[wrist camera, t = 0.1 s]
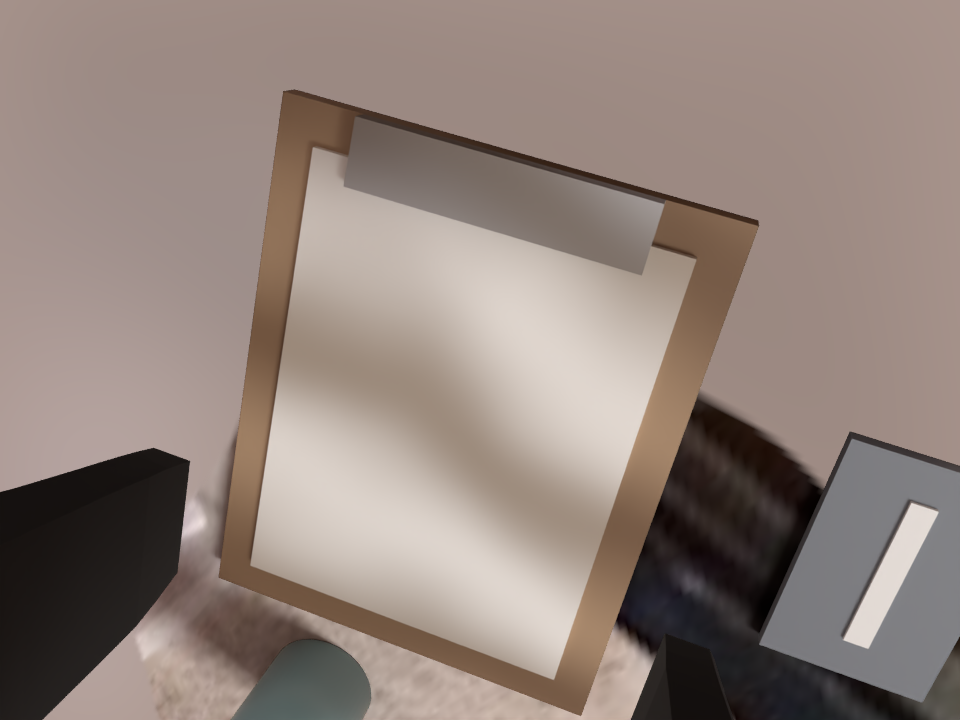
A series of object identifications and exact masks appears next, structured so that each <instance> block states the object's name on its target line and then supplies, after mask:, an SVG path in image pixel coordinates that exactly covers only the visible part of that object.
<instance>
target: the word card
mask: <svg viewBox="0 0 960 720" xmlns="http://www.w3.org/2000/svg"><path fill="white" fill-rule="evenodd" d="M959 636H960V466H958V465H955V464H952V463H949V462H946V461H942V460H939V459H936V458H933V457H929V456H927V455H923V454H920V453H917V452H914V451H911V450H908V449H904V448H901V447H898V446H895V445H891V444H888V443H885V442H882V441H879V440H876V439H873V438H869V437H866V436H863V435H860V434H856V433H853V432H849V435H848V437H847V439H846V441H845V444H844V446H843V448H842V450H841V453H840V455H839V457H838V459H837V461H836V464H835V466H834V468H833V470H832V472H831V475H830V477H829V479H828V481H827V484H826V486H825V488H824V490H823V493H822V495H821V497H820V499H819V501H818V504H817V506H816V508H815V510H814V513H813V515H812V517H811V519H810V522H809V524H808V526H807V528H806V530H805V533H804V535H803V537H802V539H801V542H800V544H799V546H798V548H797V550H796V553H795V555H794V557H793V559H792V562H791V564H790V566H789V568H788V571H787V573H786V575H785V577H784V579H783V582H782V584H781V586H780V588H779V591H778V593H777V595H776V597H775V600H774V602H773V604H772V606H771V608H770V611H769V613H768V615H767V617H766V620H765V622H764V624H763V626H762V629H761V631H760V633H759V644H760V645H762V646H765V647H768V648H771V649H774V650H776V651H779V652H782V653H785V654H787V655H790V656H793V657H796V658H799V659H801V660H804V661H807V662H810V663H813V664H815V665H818V666H821V667H824V668H827V669H829V670H832V671H835V672H838V673H841V674H843V675H846V676H849V677H852V678H855V679H857V680H860V681H863V682H866V683H869V684H871V685H874V686H877V687H880V688H883V689H885V690H888V691H891V692H894V693H897V694H899V695H902V696H905V697H908V698H911V699H913V700H916V701H919V702H923V700H924V698H925V697H926V695H927V693H928V691H929V690H930V688H931V686H932V684H933V682H934V681H935V679H936V677H937V675H938V674H939V672H940V670H941V668H942V666H943V665H944V663H945V661H946V659H947V658H948V656H949V654H950V652H951V651H952V649H953V647H954V645H955V643H956V642H957V640H958V638H959Z"/></svg>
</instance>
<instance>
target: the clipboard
mask: <svg viewBox="0 0 960 720" xmlns="http://www.w3.org/2000/svg"><path fill="white" fill-rule="evenodd" d="M758 227H759V223H758V220H754V219H751V218H747V217H743V216H740V215H736V214H733V213H730V212H726V211H723V210H719V209H716V208H712V207H708V206H705V205H701V204H698V203H694V202H691V201H687V200H683V199H680V198H677V197H673V196H670V195H666V194H662V193H659V192H655V191H652V190H648V189H644V188H641V187H638V186H634V185H631V184H627V183H624V182H620V181H617V180H613V179H609V178H606V177H602V176H599V175H595V174H592V173H588V172H585V171H581V170H578V169H574V168H570V167H567V166H563V165H560V164H556V163H553V162H549V161H546V160H542V159H538V158H535V157H532V156H528V155H525V154H521V153H517V152H514V151H510V150H507V149H503V148H500V147H496V146H492V145H489V144H486V143H482V142H479V141H475V140H471V139H468V138H464V137H461V136H457V135H454V134H450V133H447V132H443V131H440V130H436V129H433V128H429V127H425V126H422V125H419V124H415V123H411V122H408V121H404V120H401V119H397V118H394V117H390V116H387V115H383V114H379V113H376V112H372V111H369V110H365V109H362V108H358V107H355V106H351V105H348V104H344V103H341V102H337V101H334V100H330V99H326V98H323V97H320V96H316V95H312V94H309V93H305V92H302V91H298V90H289V91H283V97H282V104H281V112H280V119H279V128H278V135H277V142H276V150H275V157H274V165H273V172H272V180H271V187H270V195H269V202H268V210H267V217H266V225H265V232H264V240H263V247H262V255H261V262H260V270H259V277H258V285H257V292H256V301H255V307H254V315H253V323H252V330H251V338H250V345H249V353H248V361H247V368H246V375H245V383H244V390H243V398H242V405H241V413H240V420H239V428H238V435H237V443H236V450H235V458H234V465H233V473H232V480H231V488H230V495H229V503H228V510H227V518H226V525H225V533H224V540H223V548H222V556H221V563H220V571H219V578H221V579H224V580H226V581H229V582H232V583H234V584H237V585H239V586H242V587H245V588H247V589H250V590H252V591H255V592H258V593H260V594H263V595H266V596H268V597H271V598H273V599H276V600H279V601H281V602H284V603H286V604H289V605H292V606H294V607H297V608H300V609H302V610H305V611H307V612H310V613H313V614H315V615H318V616H320V617H323V618H326V619H328V620H331V621H334V622H336V623H339V624H341V625H344V626H347V627H349V628H352V629H355V630H357V631H360V632H362V633H365V634H368V635H370V636H373V637H375V638H378V639H381V640H383V641H386V642H389V643H391V644H394V645H396V646H399V647H402V648H404V649H407V650H409V651H412V652H415V653H417V654H420V655H423V656H425V657H428V658H430V659H433V660H436V661H438V662H441V663H443V664H446V665H449V666H451V667H454V668H457V669H459V670H462V671H464V672H467V673H470V674H472V675H475V676H477V677H480V678H483V679H485V680H488V681H491V682H493V683H496V684H498V685H501V686H504V687H506V688H509V689H512V690H514V691H517V692H519V693H522V694H525V695H527V696H530V697H532V698H535V699H538V700H540V701H543V702H546V703H548V704H551V705H553V706H556V707H559V708H561V709H564V710H566V711H569V712H572V713H574V714H577V715H580V716H581V715H582V712H583V709H584V706H585V704H586V701H587V698H588V695H589V693H590V690H591V687H592V684H593V682H594V679H595V676H596V673H597V671H598V668H599V665H600V662H601V660H602V657H603V654H604V651H605V649H606V646H607V643H608V640H609V638H610V635H611V632H612V629H613V626H614V624H615V621H616V618H617V615H618V613H619V610H620V607H621V604H622V602H623V599H624V596H625V593H626V591H627V588H628V585H629V582H630V580H631V577H632V574H633V571H634V569H635V566H636V563H637V560H638V558H639V555H640V552H641V549H642V547H643V544H644V541H645V538H646V536H647V533H648V530H649V527H650V525H651V522H652V519H653V516H654V514H655V511H656V508H657V505H658V503H659V500H660V497H661V494H662V492H663V489H664V486H665V483H666V481H667V478H668V475H669V472H670V470H671V467H672V464H673V461H674V459H675V456H676V453H677V450H678V448H679V445H680V442H681V439H682V437H683V434H684V431H685V428H686V426H687V423H688V420H689V417H690V414H691V412H692V409H693V406H694V403H695V401H696V398H697V395H698V392H699V390H700V387H701V384H702V381H703V379H704V376H705V373H706V370H707V368H708V365H709V362H710V359H711V356H712V354H713V351H714V348H715V345H716V343H717V340H718V337H719V335H720V331H721V329H722V326H723V323H724V321H725V318H726V315H727V312H728V310H729V307H730V304H731V302H732V299H733V296H734V293H735V291H736V288H737V285H738V282H739V280H740V277H741V274H742V271H743V268H744V266H745V263H746V260H747V258H748V255H749V252H750V249H751V247H752V244H753V241H754V238H755V236H756V233H757V230H758Z"/></svg>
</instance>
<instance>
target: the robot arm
mask: <svg viewBox="0 0 960 720" xmlns="http://www.w3.org/2000/svg"><path fill="white" fill-rule="evenodd" d="M189 465H190V461H188V460H186V459H183V458H180V457H177V456H174V455H172V454H169V453H166V452H164V451H161V450H158V449H155V448H151V449H147V450H142V451H139V452H134V453H131V454H127V455H124V456H120V457H117V458H114V459H110V460H107V461H103V462H100V463H97V464H94V465H90V466H87V467H84V468H81V469H78V470H74V471H71V472H67V473H64V474H61V475H58V476H54V477H51V478H48V479H44V480H41V481H38V482H34V483H31V484H28V485H24V486H21V487H18V488H14V489H10V490H6V491H3V492H0V720H42V719H44V718H45V717H46V716H47V714H48V713H50V712H51V711H52V710H53V709H54V708H55V707H56V706H57V705H58V704H59V703H60V702H61V701H62V700H63V699H64V698H65V697H66V696H67V695H68V694H69V693H70V692H71V691H72V690H73V689H74V688H75V687H76V686H77V685H78V684H79V683H80V682H81V681H82V680H83V679H84V678H85V677H86V676H87V675H88V674H89V673H90V672H91V671H92V670H93V669H94V668H95V667H96V666H97V665H98V664H99V663H100V662H101V661H102V660H103V659H104V658H105V657H106V656H107V655H108V654H109V653H110V652H111V651H112V650H113V649H114V648H115V647H116V646H117V645H118V644H119V643H120V642H121V641H122V640H123V639H124V638H125V637H126V636H127V635H128V634H129V633H130V632H131V631H132V630H133V629H134V628H135V627H136V626H137V624H138V623H139V622H140V621H141V619H142V618H143V617H144V616H145V614H146V613H147V612H148V611H149V609H150V608H151V607H152V606H153V604H154V603H155V602H156V600H157V599H158V598H159V596H160V595H161V594H162V592H163V591H164V590H165V588H166V587H167V586H168V584H169V583H170V582H171V580H172V579H173V578H174V576H175V575H176V574H177V571H178V562H179V554H180V545H181V536H182V527H183V518H184V509H185V500H186V492H187V491H186V490H187V482H188V473H189ZM631 720H734V719H733V716H732V713H731V710H730V707H729V705H728V701H727V698H726V695H725V692H724V689H723V686H722V683H721V680H720V676H719V673H718V670H717V667H716V663H715V660H714V658H713V656H712V654H711V652H710V650H709V649H707V648H704V647H701V646H698V645H696V644H693V643H690V642H687V641H685V640H682V639H679V638H676V637H673V636H671V635H668V634H665V635H664V637H663V640H662V642H661V645H660V647H659V650H658V652H657V655H656V658H655V660H654V663H653V665H652V668H651V670H650V673H649V675H648V678H647V680H646V683H645V685H644V688H643V690H642V693H641V695H640V698H639V700H638V703H637V706H636V708H635V711H634V713H633V716H632V718H631Z"/></svg>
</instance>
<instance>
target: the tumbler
mask: <svg viewBox="0 0 960 720" xmlns="http://www.w3.org/2000/svg"><path fill="white" fill-rule="evenodd" d="M370 701H371V689H370V684H369V681H368V679H367V677H366V674H365V673H364V671H363V669H362V668H361V667H360V665H359V664H358V663H357V662H356V661H355V660H354V659H353V658H352V657H351V656H350V655H349V654H348V653H346V652H345V651H343V650H342V649H340V648H338V647H337V646H334V645H332V644H330V643H327V642H324V641H319V640H311V639H308V640H299V641H295V642H293V643H290V644H288V645H287V646H286V647H284V648H283V649H282V650H281V651H280V653H279V654H278V655H277V657H276V658H275V659H274V661H273V662H272V664H271V665H270V666H269V668H268V669H267V670H266V672H265V673H264V675H263V676H262V677H261V679H260V680H259V681H258V683H257V684H256V686H255V687H254V688H253V690H252V691H251V692H250V694H249V695H248V696H247V698H246V699H245V701H244V702H243V703H242V705H241V706H240V707H239V709H238V710H237V712H236V713H235V714H234V716H233V717H232V718H231V720H362V719H363V717H364V716H365V714H366V712H367V710H368V708H369V705H370Z"/></svg>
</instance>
